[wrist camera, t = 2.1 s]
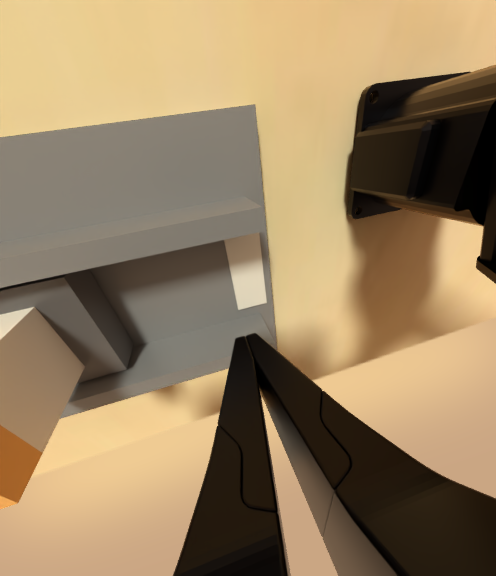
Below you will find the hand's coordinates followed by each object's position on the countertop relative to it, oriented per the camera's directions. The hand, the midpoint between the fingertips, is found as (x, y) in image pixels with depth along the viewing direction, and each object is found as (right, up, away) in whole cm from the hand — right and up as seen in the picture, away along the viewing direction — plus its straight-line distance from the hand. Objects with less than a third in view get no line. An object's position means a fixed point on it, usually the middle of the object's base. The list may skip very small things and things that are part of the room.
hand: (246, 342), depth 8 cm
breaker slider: (-10, +1, +3) cm, 11 cm away
